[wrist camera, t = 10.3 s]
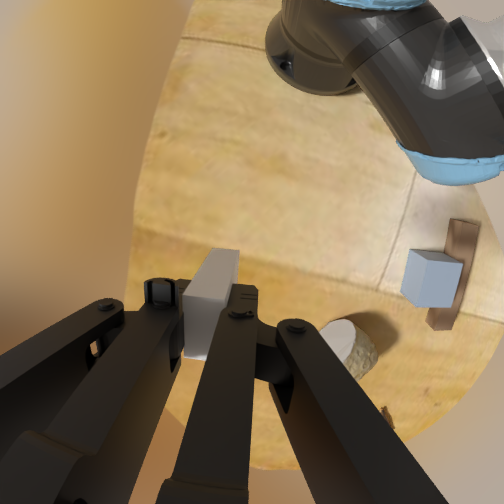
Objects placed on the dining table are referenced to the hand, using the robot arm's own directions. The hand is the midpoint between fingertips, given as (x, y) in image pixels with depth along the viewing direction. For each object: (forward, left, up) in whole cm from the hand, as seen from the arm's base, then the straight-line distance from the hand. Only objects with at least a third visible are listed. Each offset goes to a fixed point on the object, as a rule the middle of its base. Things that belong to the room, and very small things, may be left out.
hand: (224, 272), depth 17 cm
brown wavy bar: (+6, +34, -24) cm, 42 cm away
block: (+6, +28, -25) cm, 38 cm away
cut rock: (+19, +16, -25) cm, 35 cm away
